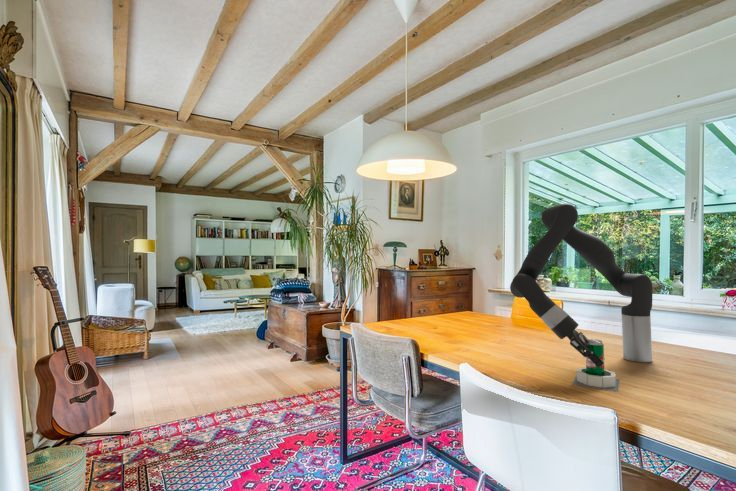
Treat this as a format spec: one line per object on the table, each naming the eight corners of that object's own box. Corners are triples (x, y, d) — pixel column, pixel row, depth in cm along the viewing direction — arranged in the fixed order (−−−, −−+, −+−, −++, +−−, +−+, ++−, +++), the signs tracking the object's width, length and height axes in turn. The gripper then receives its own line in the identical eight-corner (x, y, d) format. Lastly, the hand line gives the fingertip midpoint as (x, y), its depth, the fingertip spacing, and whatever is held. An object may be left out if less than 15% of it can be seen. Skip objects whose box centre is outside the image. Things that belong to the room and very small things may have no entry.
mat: (577, 374, 129) (577, 373, 129) (619, 380, 122) (619, 379, 122) (572, 385, 118) (572, 384, 118) (618, 393, 111) (618, 391, 111)
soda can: (582, 376, 123) (581, 338, 123) (597, 375, 123) (596, 338, 123) (593, 381, 118) (592, 342, 118) (608, 380, 118) (607, 341, 118)
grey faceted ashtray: (579, 374, 127) (579, 365, 128) (616, 380, 121) (615, 370, 122) (575, 383, 119) (575, 373, 119) (615, 389, 113) (614, 379, 113)
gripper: (564, 317, 119) (610, 361, 112) (570, 311, 131) (612, 351, 124) (546, 332, 122) (590, 375, 115) (554, 325, 134) (594, 364, 127)
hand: (601, 362), depth 119 cm, fingers closed on soda can, 5 cm apart
